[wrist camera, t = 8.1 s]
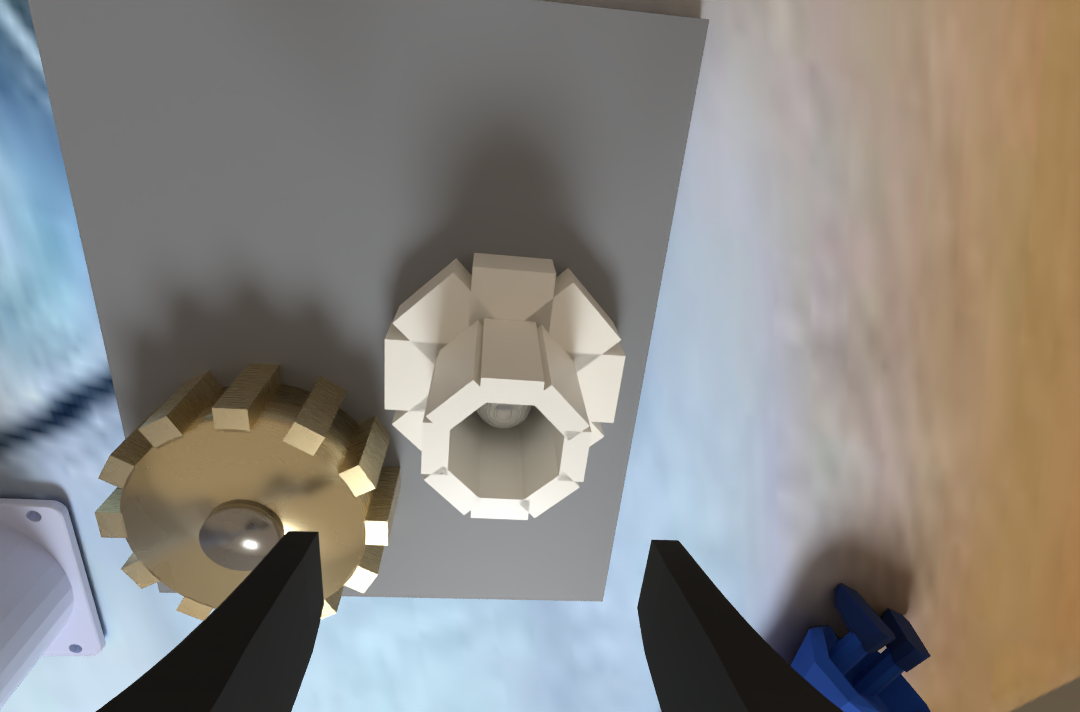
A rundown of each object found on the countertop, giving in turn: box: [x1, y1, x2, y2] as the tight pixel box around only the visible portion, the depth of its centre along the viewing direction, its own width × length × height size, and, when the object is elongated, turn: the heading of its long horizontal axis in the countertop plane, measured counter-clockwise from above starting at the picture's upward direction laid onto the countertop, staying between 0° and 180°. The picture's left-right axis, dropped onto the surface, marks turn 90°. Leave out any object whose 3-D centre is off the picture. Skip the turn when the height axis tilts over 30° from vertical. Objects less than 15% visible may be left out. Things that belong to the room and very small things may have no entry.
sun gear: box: [95, 363, 400, 621], centre depth 21 cm, size 9×9×4 cm
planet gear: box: [385, 253, 626, 520], centre depth 19 cm, size 8×8×6 cm
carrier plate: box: [28, 0, 709, 601], centre depth 21 cm, size 18×22×1 cm
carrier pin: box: [477, 403, 532, 429], centre depth 20 cm, size 2×2×3 cm
